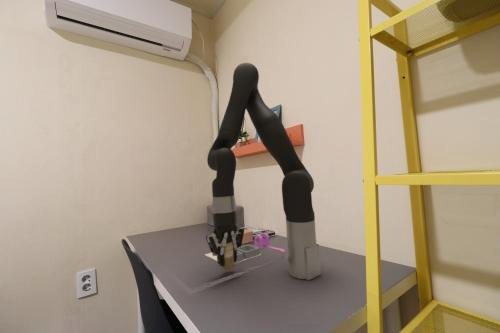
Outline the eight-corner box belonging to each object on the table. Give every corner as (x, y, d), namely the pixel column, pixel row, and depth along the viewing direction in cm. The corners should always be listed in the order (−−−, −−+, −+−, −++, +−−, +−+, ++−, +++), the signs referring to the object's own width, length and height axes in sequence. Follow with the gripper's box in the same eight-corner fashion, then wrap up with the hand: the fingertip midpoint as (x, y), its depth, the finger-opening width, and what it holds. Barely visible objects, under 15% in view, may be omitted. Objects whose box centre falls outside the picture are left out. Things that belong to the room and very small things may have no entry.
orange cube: (253, 244, 110) (252, 231, 110) (243, 247, 106) (242, 233, 106) (245, 241, 115) (245, 229, 115) (235, 244, 111) (235, 231, 111)
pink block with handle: (254, 251, 100) (254, 235, 100) (263, 247, 104) (262, 232, 104) (279, 257, 91) (278, 239, 91) (287, 253, 95) (286, 236, 95)
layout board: (261, 258, 91) (261, 247, 91) (227, 270, 81) (226, 258, 81) (236, 248, 104) (236, 239, 104) (204, 258, 94) (204, 248, 94)
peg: (236, 267, 74) (235, 242, 75) (226, 271, 72) (224, 245, 72) (229, 264, 77) (228, 240, 78) (219, 268, 75) (217, 242, 75)
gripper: (235, 206, 83) (238, 255, 82) (199, 212, 74) (202, 267, 73) (248, 207, 77) (252, 260, 77) (211, 214, 68) (215, 274, 67)
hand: (227, 263), depth 75 cm, fingers closed on peg, 4 cm apart
